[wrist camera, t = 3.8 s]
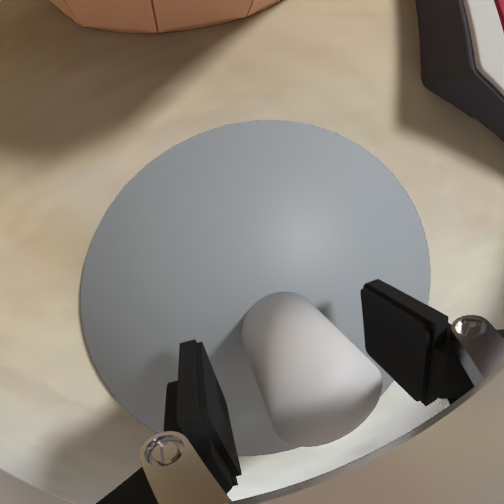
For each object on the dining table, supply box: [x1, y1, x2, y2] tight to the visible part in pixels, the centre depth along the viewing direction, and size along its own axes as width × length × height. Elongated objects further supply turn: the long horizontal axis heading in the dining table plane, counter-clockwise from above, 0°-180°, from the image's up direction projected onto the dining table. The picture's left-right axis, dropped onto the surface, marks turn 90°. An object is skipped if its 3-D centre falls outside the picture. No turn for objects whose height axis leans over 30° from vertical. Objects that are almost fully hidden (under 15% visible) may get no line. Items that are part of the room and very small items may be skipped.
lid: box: [81, 120, 430, 456], centre depth 10 cm, size 16×16×6 cm
